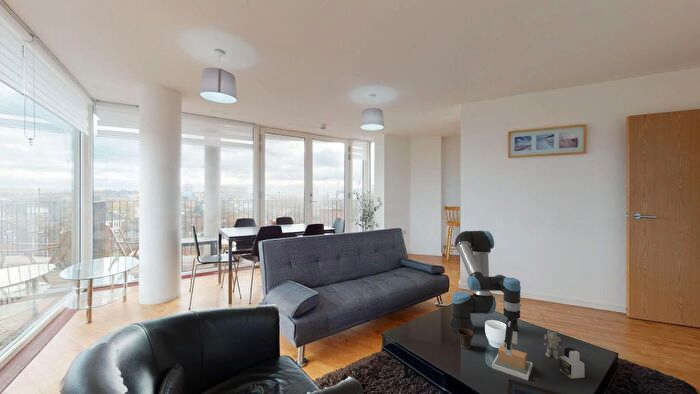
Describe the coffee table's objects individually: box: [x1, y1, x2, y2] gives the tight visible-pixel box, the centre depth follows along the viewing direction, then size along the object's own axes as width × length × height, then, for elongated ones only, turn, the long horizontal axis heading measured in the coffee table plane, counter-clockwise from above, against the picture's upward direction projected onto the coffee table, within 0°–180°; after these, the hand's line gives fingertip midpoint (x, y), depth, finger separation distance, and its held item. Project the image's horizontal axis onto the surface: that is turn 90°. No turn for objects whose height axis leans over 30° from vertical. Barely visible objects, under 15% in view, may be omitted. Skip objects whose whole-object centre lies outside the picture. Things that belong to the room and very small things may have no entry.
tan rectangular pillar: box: [497, 345, 528, 370], centre depth 150 cm, size 12×6×6 cm, turn 49°
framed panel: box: [491, 353, 534, 381], centre depth 150 cm, size 16×14×2 cm
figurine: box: [543, 329, 562, 360], centre depth 158 cm, size 8×8×15 cm
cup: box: [457, 328, 475, 350], centre depth 170 cm, size 9×9×10 cm
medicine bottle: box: [559, 347, 585, 379], centre depth 144 cm, size 7×7×12 cm
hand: (511, 349), depth 150 cm, fingers open, 13 cm apart
